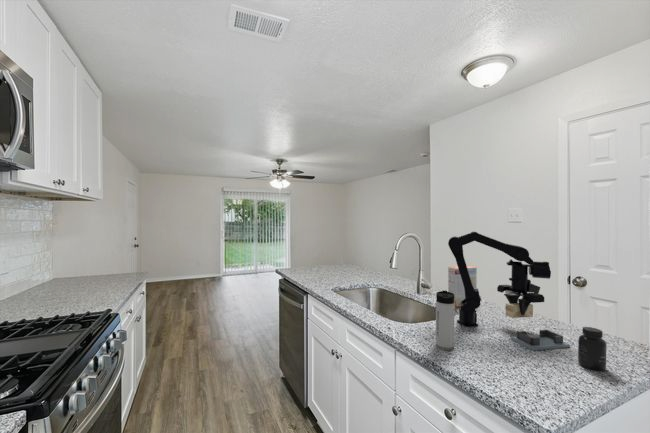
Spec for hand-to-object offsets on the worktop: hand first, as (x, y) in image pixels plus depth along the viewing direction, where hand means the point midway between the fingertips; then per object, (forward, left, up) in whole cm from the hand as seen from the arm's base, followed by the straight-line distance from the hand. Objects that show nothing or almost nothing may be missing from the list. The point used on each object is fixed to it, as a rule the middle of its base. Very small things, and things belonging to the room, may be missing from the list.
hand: (519, 313), depth 127 cm
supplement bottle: (-1, -30, -8) cm, 31 cm away
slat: (0, 0, -1) cm, 1 cm away
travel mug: (-40, -9, -8) cm, 42 cm away
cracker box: (-1, +36, -8) cm, 37 cm away
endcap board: (-2, -12, -7) cm, 14 cm away
